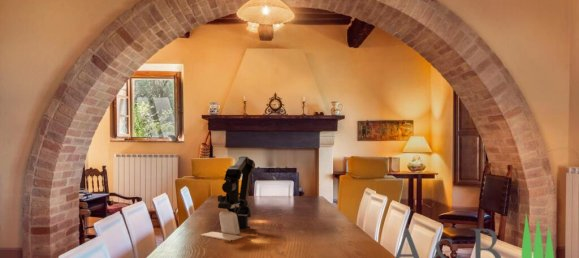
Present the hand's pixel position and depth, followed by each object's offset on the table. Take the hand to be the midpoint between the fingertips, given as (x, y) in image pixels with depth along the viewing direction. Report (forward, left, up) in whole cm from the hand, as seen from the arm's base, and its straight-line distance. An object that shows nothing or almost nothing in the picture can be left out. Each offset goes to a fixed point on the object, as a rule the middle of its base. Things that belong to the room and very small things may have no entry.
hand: (232, 220), depth 239 cm
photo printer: (+1, 0, -7) cm, 7 cm away
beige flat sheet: (+9, 0, -7) cm, 12 cm away
